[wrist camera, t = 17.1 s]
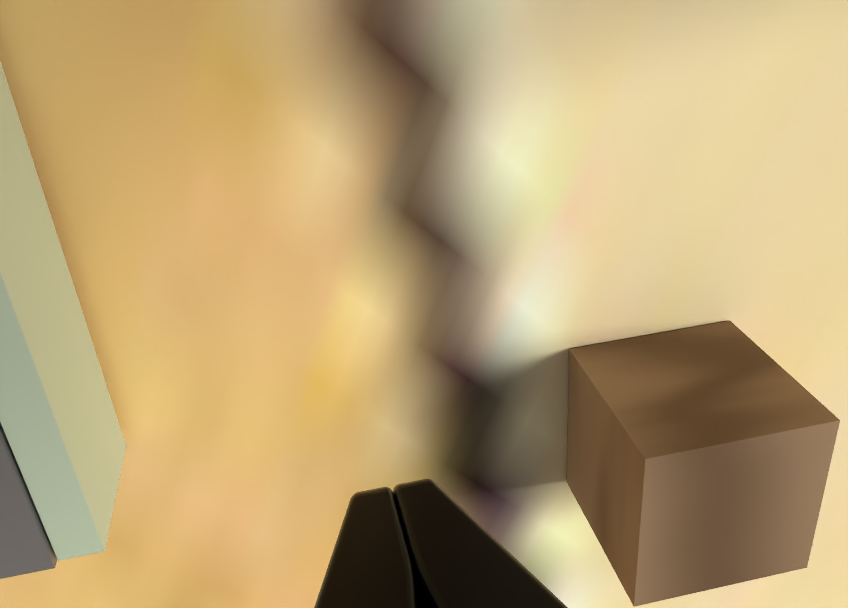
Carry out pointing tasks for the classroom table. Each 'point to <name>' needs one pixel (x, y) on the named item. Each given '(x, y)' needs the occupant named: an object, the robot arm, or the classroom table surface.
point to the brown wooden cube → (695, 459)
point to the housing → (20, 522)
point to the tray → (50, 364)
